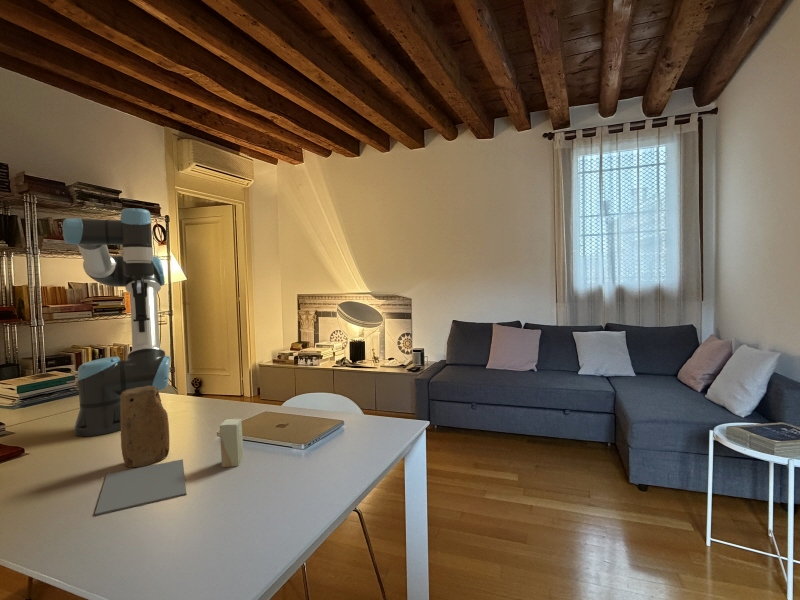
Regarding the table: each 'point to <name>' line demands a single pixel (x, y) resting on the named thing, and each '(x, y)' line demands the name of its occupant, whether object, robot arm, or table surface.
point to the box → (231, 442)
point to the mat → (142, 486)
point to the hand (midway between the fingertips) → (142, 342)
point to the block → (143, 427)
